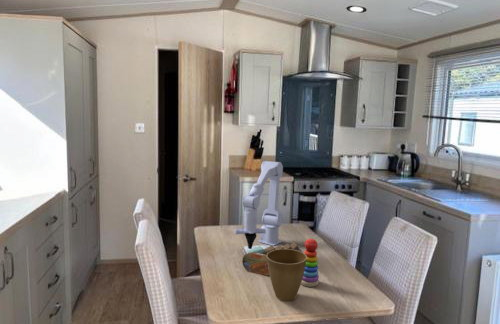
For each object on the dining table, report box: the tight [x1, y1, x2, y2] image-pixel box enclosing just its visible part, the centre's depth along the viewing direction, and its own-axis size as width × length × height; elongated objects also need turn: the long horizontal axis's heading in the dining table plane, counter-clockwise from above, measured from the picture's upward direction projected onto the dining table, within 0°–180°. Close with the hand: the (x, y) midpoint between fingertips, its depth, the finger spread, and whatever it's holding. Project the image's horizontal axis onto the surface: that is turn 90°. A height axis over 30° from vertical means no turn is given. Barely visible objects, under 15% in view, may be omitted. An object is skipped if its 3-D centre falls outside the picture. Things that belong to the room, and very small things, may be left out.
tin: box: [241, 252, 270, 276], centre depth 162 cm, size 15×3×8 cm, turn 62°
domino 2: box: [262, 245, 275, 255], centre depth 182 cm, size 2×5×7 cm
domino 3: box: [273, 243, 283, 250], centre depth 183 cm, size 2×5×7 cm
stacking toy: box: [301, 238, 320, 288], centre depth 152 cm, size 8×8×19 cm
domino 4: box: [282, 243, 292, 249], centre depth 184 cm, size 2×5×7 cm
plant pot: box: [267, 249, 307, 302], centre depth 141 cm, size 15×15×16 cm
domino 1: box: [247, 245, 265, 254], centre depth 182 cm, size 2×5×7 cm
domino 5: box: [289, 242, 300, 250], centre depth 184 cm, size 2×5×7 cm
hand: (249, 248), depth 180 cm, fingers closed
